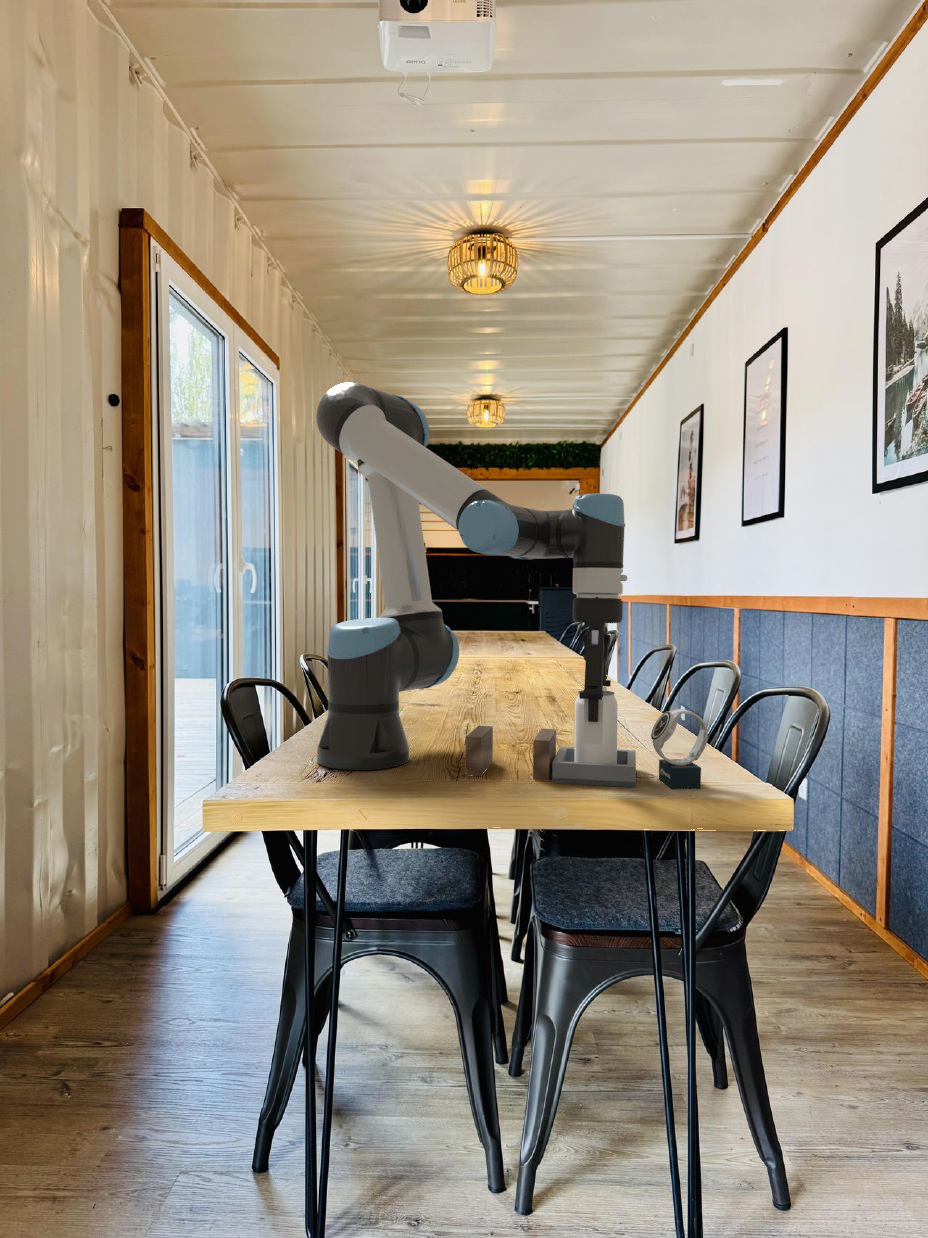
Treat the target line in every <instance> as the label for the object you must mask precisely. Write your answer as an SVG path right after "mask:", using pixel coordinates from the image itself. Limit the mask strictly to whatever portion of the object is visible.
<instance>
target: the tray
mask: <svg viewBox="0 0 928 1238" xmlns="http://www.w3.org/2000/svg"><path fill="white" fill-rule="evenodd" d="M636 751H637V750H635V749H633V750H632V749H617V764H602V763H584V762H574V746H573V747H572V746H560V747H559V748H558V751H556V756H555V758H554V761H553V768H552V775H551V780H552V783H553V784H569V785H583V784H585V785H584V786H601V787H616V788H619V787H621V788H632V789H633V788H634V789H635V788H636V785H637V784H636V783H637V782H636V781H637V779H636V774H637V773H636V772H637V771H636V770H637V768H636V767H637V766H636V765H637V761H636V760H637V756H636V754H637V753H636Z"/></svg>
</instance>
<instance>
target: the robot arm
mask: <svg viewBox="0 0 928 1238" xmlns="http://www.w3.org/2000/svg"><path fill="white" fill-rule="evenodd" d="M315 419H316V424H317V428H318V431H319V433H320V435H321V436H322V438H323V439H324V441H326V443H328V445H330V446H331V447H332V448H333V449H335V450H337V451H338V452H339V453H340V454H342V455H343V456H345V457H346V458H348V459H349V460H352V461H353V460H354V461H357V470H358V473H359V474H361V475H362V476H363V477H365V478H366V479H367V480H368V488H369V495H370V503H371V511H372V518H373V519H372V520H373V525H374V526H373V527H374V532H375V540H376V542H375V543H376V548H377V557H378V564H379V571H380V580H381V587H382V594H383V602H384V610H383V612H382V613H380V615H379V617H368V618H367V617H366V618H358V619H357V618H356V619H350V620H349V619H348V620H346V621H342V622H339V623H336V624H334V625H333V626H332V627H331V629H330V630H329V632H328V646H327V648H326V654H327V704H328V705H327V717H326V719H325V720H326V721H325V724H324V726H323V729H322V733H321V736H320V739H319V742H318V745H317V748H316V749H317V750H316V757H317V758H316V761H317V763H318V764H319V765H320V766H323V767H326V768H329V769H336V770H346V771H369V770H370V771H371V770H382V769H390V768H394V767H398V766H402V765H404V764H407V762H409V761H410V746H409V742H408V738H407V736H406V732H405V730H404V725H403V723H402V720H401V717H400V700H399V699H400V693H401V692H408V691H415V690H423V689H424V690H425V689H430V688H432V687H433V686H434V687H435V686H437V685H440V684H442V683H444V682H446V681H447V680H448V679H449V678H450V677H451V676H452V674H453V672H454V671H455V670H456V668H457V665H458V661H459V658H460V645H459V641H458V640H459V639H458V638H457V636H456V634H455V632H454V631H452V630H451V628H450V627H449V626H447V624H445V623H444V619H443V618H444V617H443V610H442V609H441V608H440V607H439V606H438V605H436V604H435V603H434V602H433V599H432V592H431V591H432V590H431V585H430V584H431V583H430V576H429V569H428V562H427V555H426V548H425V540H424V533H423V525H422V519H421V511H420V510H421V509H420V504H421V505H422V506H423V507H424V508H426V509H428V510H429V511H430V512H431V513H433V514H434V515H436V516H437V517H438V518H440V519H441V520H443V521H444V522H445V523H447V524H448V525H450V526H451V527H452V528H453V529H455V530H456V531H458V533H459V537H460V539H461V541H462V543H463V544H464V546H465V547H466V548H467V549H469V551H472V552H475V553H478V554H481V555H485V556H493V557H494V556H502V557H503V556H504V557H505V556H506V557H509V558H513V559H520V560H529V561H530V560H534V559H561V558H562V559H564V558H566V559H572V558H573V568H572V593H573V594H574V595H576V597H575V598H574V599H573V600H572V620H573V622H575V623H586V624H588V629H587V630H586V632H585V633H584V634H583V638H582V642H583V648H584V650H583V658H584V659H583V660H584V661H585V668H584V687H583V688H584V689H582V691H583V692H580V699H584V734H583V743H584V744H602V741H603V699H602V697H603V691H608V690H607V688H608V687H609V688H610V687H612V686H611V680H610V679H608V676H607V661H608V658H609V654H610V653H609V652H610V648H609V647H610V646H611V634H607V633H608V628H607V626H606V624H619V623H621V622H622V621H623V611H624V610H623V605H624V604H623V603H624V601H623V600H622V598H619V595H620V596H621V595H622V594H623V590H624V588H623V587H624V584H623V583H622V582H627V581H628V576H627V574H623V572H624V570H623V569H624V548H625V547H624V546H625V545H624V544H625V528H626V523H625V505H624V499H622V498H621V496H619V495H617V494H613V493H612V494H611V493H586V494H580V495H577V496H576V497H575V499H574V503H573V507H572V508H570V509H565V510H564V509H563V510H561V509H560V510H539V509H533V508H527V507H523V506H518V505H513V504H510V503H507V502H506V501H505V500H503V499H502V498H500V497H499V496H497V495H495V494H494V493H493V492H491V491H489V489H487V488H486V487H484V486H483V485H481V484H480V483H479V482H477V481H475V480H474V479H472V478H471V477H470V476H468V475H467V474H465V473H464V472H462V471H460V470H459V469H458V468H457V467H455V466H453V465H452V464H450V463H449V462H448V461H446V460H445V459H443V458H441V456H439V455H437V454H436V453H434V452H433V451H432V450H430V449H429V448H427V447H426V446H428V445H429V443H430V442H429V441H430V427H429V422H428V419H427V417H426V415H425V413H424V412H423V411H422V409H421V408H420V407H419V406H417V405H416V404H415V403H414V402H411V401H409V400H408V399H407V398H405V397H403V396H402V395H401V396H400V395H397V394H391V393H388V392H385V391H381V390H378V389H375V388H372V387H370V386H368V385H365V384H361V383H357V382H343V383H340V384H339V383H338V384H337V385H335V386H333V387H332V388H330V389H328V390H327V391H326V392H325V393H324V394H323V395H322V397H321V399H320V400H319V403H318V405H317V409H316V418H315ZM602 690H603V691H602Z"/></svg>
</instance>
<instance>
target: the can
mask: <svg viewBox="0 0 928 1238" xmlns="http://www.w3.org/2000/svg"><path fill="white" fill-rule="evenodd" d="M602 691H603V690H602ZM580 692H583V690H579V691H577V694H578V695H577V697H576V698H575V702H574V744H573V745H574V746H573V747H574V762H584V763H602V764H617V750H618V702H617V701H618V700H617V699H616V697H615V694H616V693H615V691H611V690H607V691H603V697H602V699H603V741H602V744H584V743H583V734H584V699H580Z"/></svg>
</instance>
